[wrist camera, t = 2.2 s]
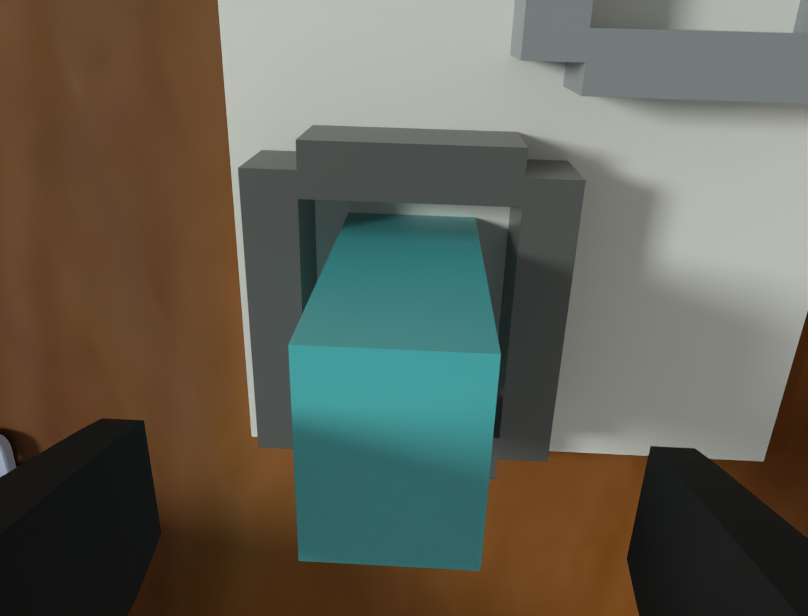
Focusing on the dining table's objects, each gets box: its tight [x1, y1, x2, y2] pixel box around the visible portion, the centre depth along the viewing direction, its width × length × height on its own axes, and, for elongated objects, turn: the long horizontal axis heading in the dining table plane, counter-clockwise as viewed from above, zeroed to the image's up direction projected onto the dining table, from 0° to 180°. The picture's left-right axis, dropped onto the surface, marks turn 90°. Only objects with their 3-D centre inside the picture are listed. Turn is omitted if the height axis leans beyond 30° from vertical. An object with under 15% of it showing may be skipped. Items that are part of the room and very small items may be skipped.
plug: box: [288, 212, 501, 571], centre depth 13 cm, size 4×3×7 cm
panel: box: [218, 0, 808, 479], centre depth 14 cm, size 18×14×3 cm
